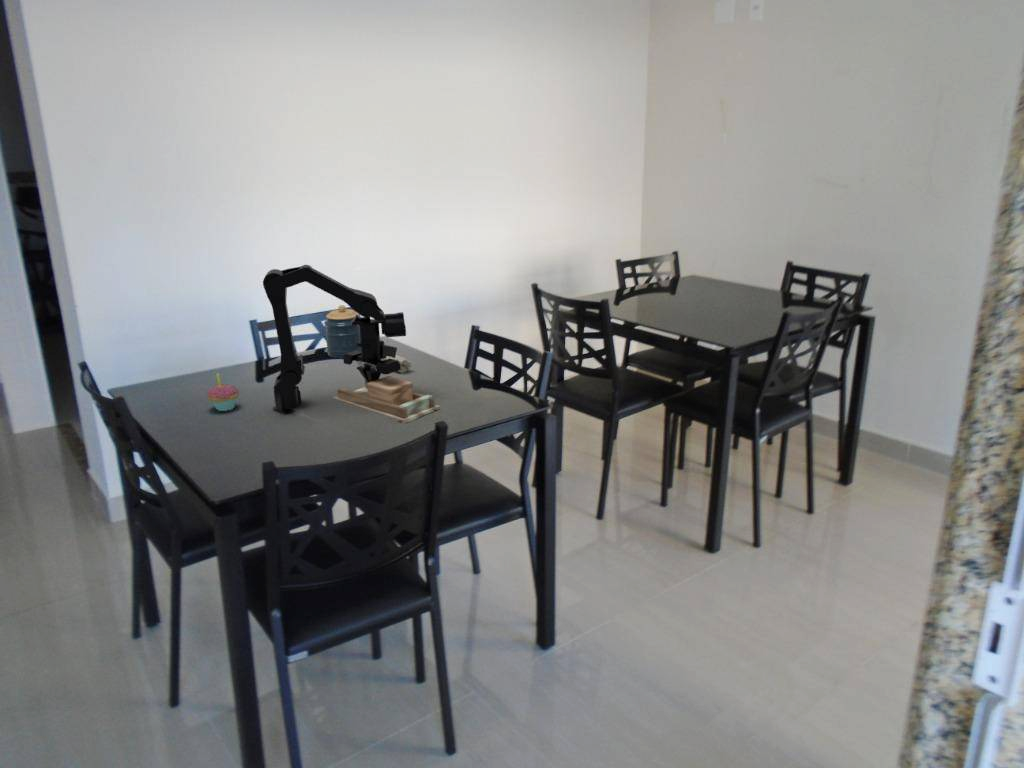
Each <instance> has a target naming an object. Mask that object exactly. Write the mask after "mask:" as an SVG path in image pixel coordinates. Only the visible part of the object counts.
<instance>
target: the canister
mask: <svg viewBox="0 0 1024 768" xmlns="http://www.w3.org/2000/svg"><path fill="white" fill-rule="evenodd" d="M356 315H358V316H359V315H360V314H359V313H357V312H356V311H355V310H353V309H352V308H351V309H350V308H346V306H345V305H343V304H341V305H339V306H338V307H337V309H334V310H330V312H329V313H327V314H326V315H325V317H326V320H325V321H324V322H323V324H324V325H325V327H326V328H325V337H326V339H325V340H326V352H327V355H328V356H329V357H330V358H334V359H343V357H344V355H345V354H346V353H349V352H353V351H356V350H358V351H361V350H360V347H359V346H357V343H358V342H360V338H359V326H358V325H352V322H351V321H352V320H353V319H354V318H355V316H356ZM359 317H360V316H359Z"/></svg>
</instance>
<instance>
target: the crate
mask: <svg viewBox="0 0 1024 768" xmlns="http://www.w3.org/2000/svg"><path fill="white" fill-rule="evenodd" d="M367 388H368V397H371V398H375V399H378V400H381V401H384V402H388V403H391V404H394V405H397V406H399V405H402V404H404V403H407V402H410V401H412V400H413V392H414V391H413V389H414V384H413V382H412V381H407V380H405V379H400V378H397V377H394V376H389V375H387V376H384V377H381V378H379V379H378V380H375V381H372V382H369V383H367Z"/></svg>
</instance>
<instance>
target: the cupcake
mask: <svg viewBox="0 0 1024 768" xmlns="http://www.w3.org/2000/svg"><path fill="white" fill-rule="evenodd" d="M215 375H216V378H217V379H216V380H217V385H216V386H213V387H212V388H210V389H209V390H208V392H207V399H208V401H209V402H211V403H212V404H213V406H214V408H215V409H217V410H219V411H225V410H230V411H232V410H234V409H235V404H236V401H237V399H238V397H239V395H240V393H239V390H238V388H237V387H236V386H233V385H230V384H224V383H223V384H222V383H221V379H220V375H219V372H216V374H215ZM233 408H234V409H233ZM231 409H232V410H231ZM217 410H216V411H217ZM219 411H218V412H219Z"/></svg>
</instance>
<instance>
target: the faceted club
mask: <svg viewBox="0 0 1024 768" xmlns="http://www.w3.org/2000/svg"><path fill="white" fill-rule="evenodd" d="M384 345H386V344H385V343H384ZM387 359H394V360H398V361H399V362H400V364H401V370H399V371H397V372H398V373H399V374H404V373H405V372H407V371H408V370H409V369H411V367H412V365H411V360H410V359H408V358H406V357H402V356H399V355H398V354H397V353H396V356H395V358H393V357H389V356H386V358H385V359H381V360H383V361H384V360H387Z"/></svg>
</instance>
